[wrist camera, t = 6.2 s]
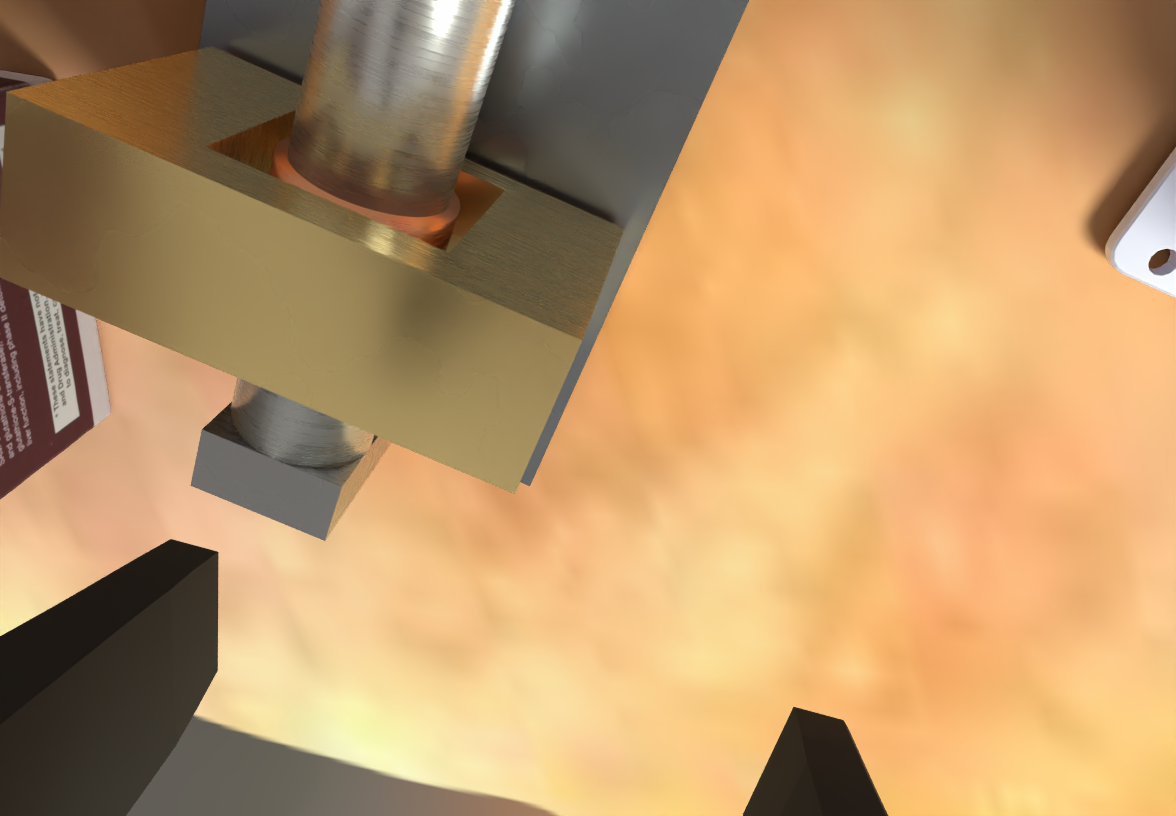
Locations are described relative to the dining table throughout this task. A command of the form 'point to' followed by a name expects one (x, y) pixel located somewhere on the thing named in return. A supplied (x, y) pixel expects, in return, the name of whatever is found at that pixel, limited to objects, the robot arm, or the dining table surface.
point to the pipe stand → (452, 165)
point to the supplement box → (43, 364)
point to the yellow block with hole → (296, 260)
